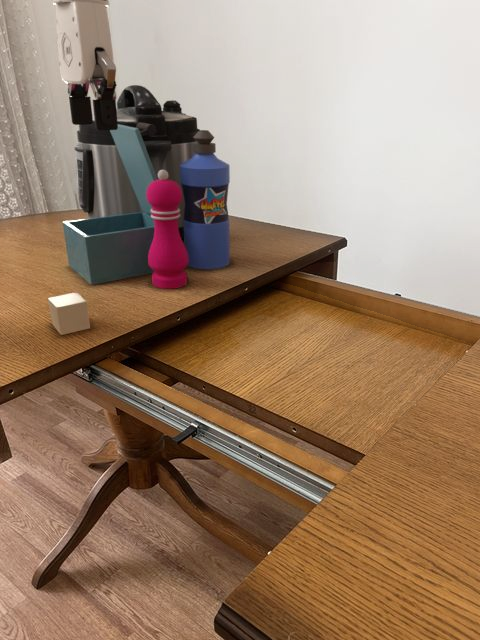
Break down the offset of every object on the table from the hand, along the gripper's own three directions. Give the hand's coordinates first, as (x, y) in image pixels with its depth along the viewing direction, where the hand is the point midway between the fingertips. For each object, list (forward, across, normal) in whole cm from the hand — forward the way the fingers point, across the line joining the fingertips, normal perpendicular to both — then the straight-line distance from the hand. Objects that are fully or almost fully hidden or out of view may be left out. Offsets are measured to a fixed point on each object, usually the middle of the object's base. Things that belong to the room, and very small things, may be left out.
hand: (94, 127), depth 82 cm
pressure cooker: (+27, -34, +23) cm, 49 cm away
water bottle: (+27, -6, +23) cm, 36 cm away
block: (+27, +10, -10) cm, 30 cm away
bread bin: (+27, -12, +7) cm, 30 cm away
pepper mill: (+27, +1, +11) cm, 29 cm away
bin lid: (+9, -12, +12) cm, 19 cm away
